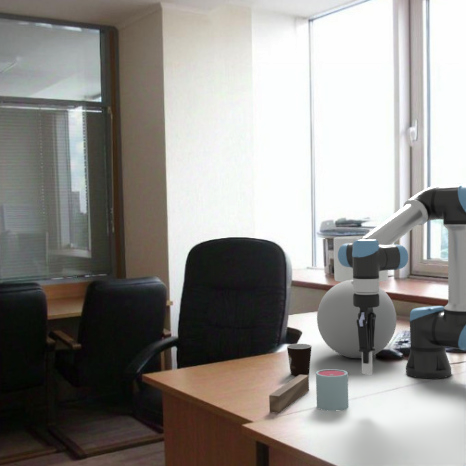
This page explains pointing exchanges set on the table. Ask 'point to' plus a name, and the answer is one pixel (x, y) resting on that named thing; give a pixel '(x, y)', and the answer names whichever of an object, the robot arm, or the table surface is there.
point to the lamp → (347, 272)
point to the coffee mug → (299, 359)
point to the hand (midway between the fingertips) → (367, 373)
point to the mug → (332, 389)
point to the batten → (288, 393)
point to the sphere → (352, 320)
